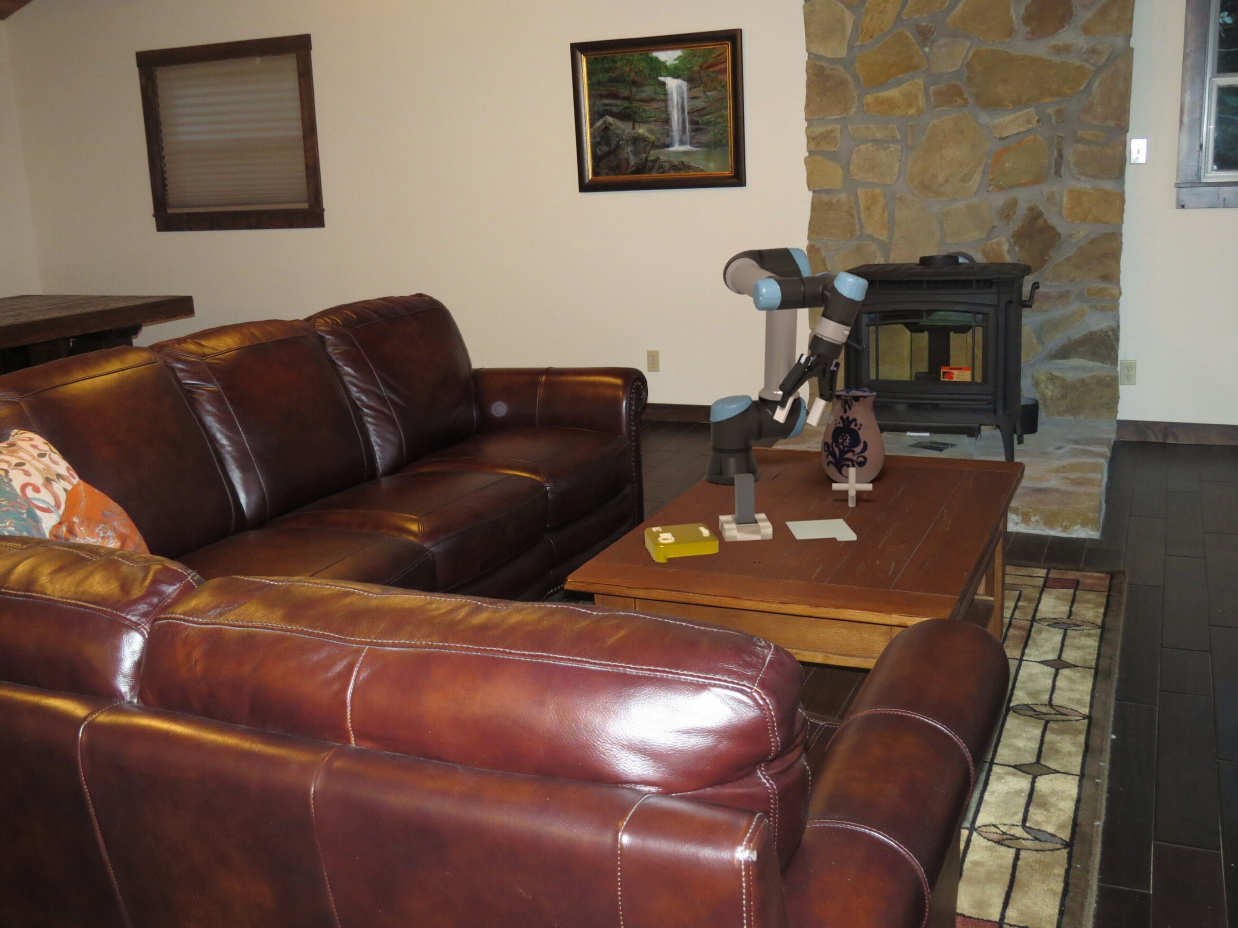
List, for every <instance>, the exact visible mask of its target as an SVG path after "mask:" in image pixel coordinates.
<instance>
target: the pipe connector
mask: <svg viewBox="0 0 1238 928" xmlns="http://www.w3.org/2000/svg"><path fill="white" fill-rule="evenodd" d="M831 484H832V487H831V488H832V489H831V490H832V491H848V495H847V496H848V497H847V499H848V507H850V508H855V507H856V501H857V500H856V499H857V495H856V493H857V491H866V492H868V491H869V492H871V491H873V483H864V484H856V468H849V484H847V483H839V482H837V483H834V482H833V483H831Z"/></svg>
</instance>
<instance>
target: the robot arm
mask: <svg viewBox="0 0 1238 928" xmlns="http://www.w3.org/2000/svg"><path fill="white" fill-rule="evenodd" d="M722 271H723V272H722V279H723V282H724V285H725V286H726V288H727V289H729V290H730V292H733V293H735V294H737V295H741V296H742V295H747V296H748V297H750V298H752V302H753V304H754V308H755V309H756V310H757V311H761V312H762V311H763V312H765V334H764V335H765V337H764V340H765V341H764V345H765V346H764V374H763V376H764V377H763V378H764V379H763V387H762V388H761V389H760V390H759V391H758V399H752V396H750V395H748V394H741V395H737V394H736V395H730V396H729V395H728V396H725V397H723V398H719V399H717V400H715V401H714V402H713V403H712V404H711V406H710V415H709V416H710V417H709V421H710V446H711V447H710V449H711V454H710V456H709V461H708V463H707V467H706V470H705V480H706V479H708V480H706V481H707V482H709V481H710V482H709V483H711V482H713V483H712V484H715V483H718V484H717V485H723V484H726V486H727V485H729V486H733V485H734V486H735V474H752V475H753V477H754V482H756V481H759V479H760V471H759V468H758V467H759V466H758V464H757V461H756V458H755V455H754V453H753V442H761V441H772V440H773V441H774V440H777V441H778V440H788V439H794V438H797V437H799V436H800V435H801V434H802V433H803V431H804V430H805V426H806V423H807V424H810V425H811V426H813V427H817V426H818V424H819V421H820V420H821V419H820V418H821V417H822V414H823V412H824V410H825V407H826V405H827V403H828V402H829V403H831V404H832V400H833V399H834V398H835V394H836V391H837V383H838V375H839V370H840V367H841V362H839V361H837V360H839V358H840V357H841V354H842V353H843V349H844V345H843V344H844V343H846V341H847V339H848V337H849V334H850V330H851V328H852V327H853V325H854V322H855V320H856V317H857V314H858V312H859V310H860V308H861V306H862V303H863V301H864V299H865V297H866V292H867V290H868V288H869V287H868V286H869V282H868V281H867V279H865V278H862V277H860V276H857V275H856V274H852V273H849V272H846V271H840V272H838V273H837V275H836V274H835V273H831V272H827V271H826V272H825V271H824V272H822V271H821V272H819V273H817V274H816V275H812V267H811V263H810V259H809V257H808V255H807V253H806V252H805V250H803V248H799V247H776V248H765V249H764V248H762V249H748V250H744V251H741V252H738V253H736V254H735V255H733V256H731V257H730V259H728V261H727V262H726V263H725V265H724V268H723V270H722ZM817 308H818V309H819V308H823V310H822V312H821V315H820V317H819V319H818V322H817V324H816V327H815V329H814V332H815V333H814V334H813V335H812V337H811V340H810V342H809V345H808V350H810V353H809V355H807V354H805V353H803V352H802V353H801V354H800V355H799V356H798V359H797V358H796V357H797V333H798V331H797V329H798V310H801V309H817ZM796 359H797V360H796ZM796 361H797V362H796ZM813 378H817V385H818V388H817V389H818V396H817V397H815V400H814V401H813V404H812V407H811V409H810V412H809V415H808V412H807V403H806V401H805V399H804V398H803V397H801V393H800V391H799V389H801V387H802V386H803V385H804V384H805V383H806V382H808V380H809V379H813ZM830 392H831V393H830Z"/></svg>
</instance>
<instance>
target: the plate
mask: <svg viewBox="0 0 1238 928" xmlns="http://www.w3.org/2000/svg"><path fill="white" fill-rule="evenodd" d="M785 524H786V525H787V527H788V529H789V530H790V531H791V533H792V534H793V536H794V537H795V539H796V540H808V539H809V540H811V539H826V538H828V539H829V538H835V539H836V540H837V542H842V541H843V542H844V541H846V542H847V541H857V538H858V537H857V534H856V533H855V532H854V530H852V529H851V527H850V526H849V525H848V524H847V522H846V521H844V519H843V518H836V519H818V520H817V519H815V520H814V519H813V520H799V521H798V520H797V521H785Z"/></svg>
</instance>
